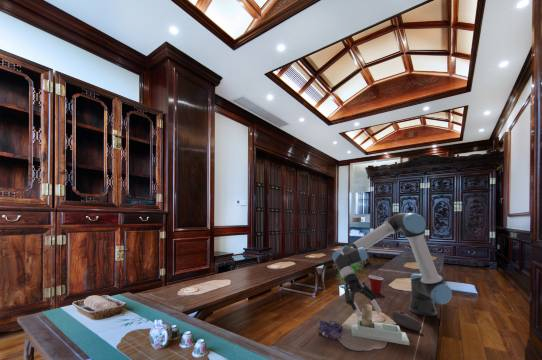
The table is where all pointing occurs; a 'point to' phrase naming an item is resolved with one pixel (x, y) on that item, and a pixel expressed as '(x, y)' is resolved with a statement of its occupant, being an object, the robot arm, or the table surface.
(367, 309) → the birch peg
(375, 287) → the plastic cup
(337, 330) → the mineral specimen
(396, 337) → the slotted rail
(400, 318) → the perforated stone tool
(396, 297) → the table surface
